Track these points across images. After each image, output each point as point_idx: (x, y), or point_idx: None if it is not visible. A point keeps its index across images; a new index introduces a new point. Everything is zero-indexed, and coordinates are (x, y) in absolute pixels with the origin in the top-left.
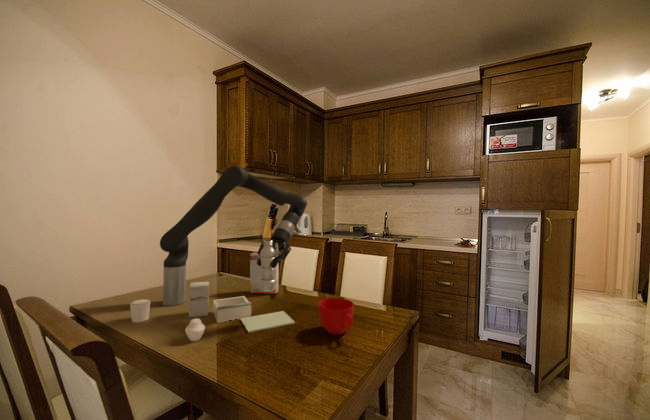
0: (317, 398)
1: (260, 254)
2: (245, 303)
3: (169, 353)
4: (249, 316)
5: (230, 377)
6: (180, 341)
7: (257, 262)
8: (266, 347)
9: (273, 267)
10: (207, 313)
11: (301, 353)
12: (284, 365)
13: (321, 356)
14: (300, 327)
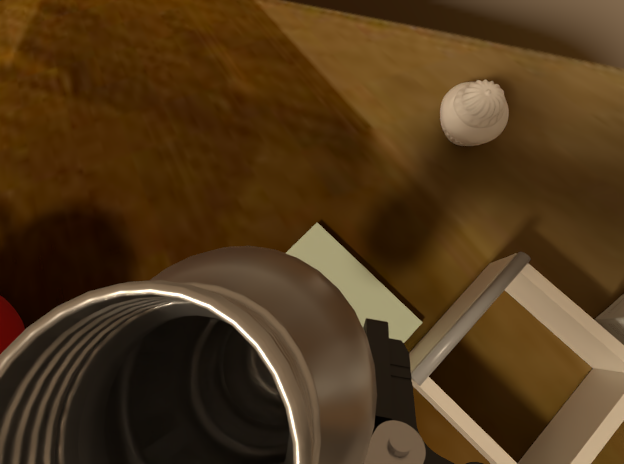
0: (12, 10)
1: (320, 272)
2: (433, 353)
3: (458, 46)
4: None
5: (227, 13)
6: None
7: (381, 324)
8: (205, 155)
9: None
10: (601, 317)
11: (87, 156)
12: (118, 89)
13: (24, 159)
14: None
